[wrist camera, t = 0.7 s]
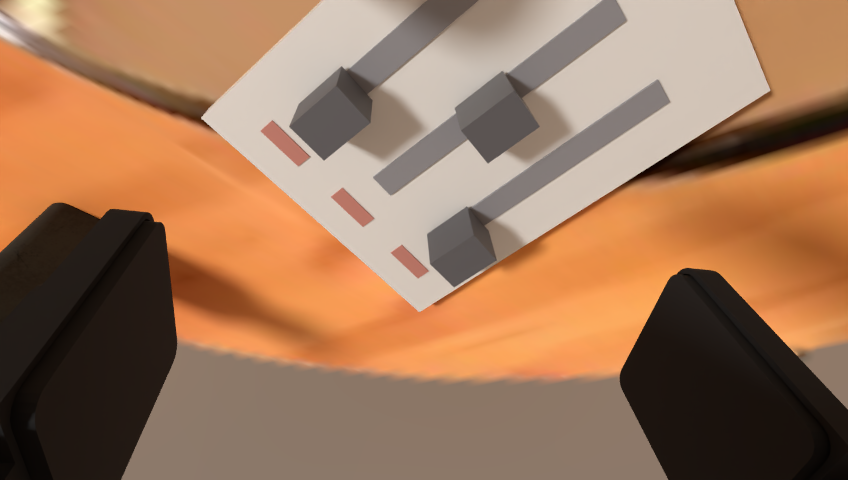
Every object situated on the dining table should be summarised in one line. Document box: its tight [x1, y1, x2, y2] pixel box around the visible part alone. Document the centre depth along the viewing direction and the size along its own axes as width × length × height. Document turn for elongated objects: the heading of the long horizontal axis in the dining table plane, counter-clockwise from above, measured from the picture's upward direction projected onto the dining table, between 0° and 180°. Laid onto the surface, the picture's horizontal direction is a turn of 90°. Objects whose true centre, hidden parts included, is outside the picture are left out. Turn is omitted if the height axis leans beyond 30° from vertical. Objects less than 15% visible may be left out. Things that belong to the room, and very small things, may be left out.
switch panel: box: [201, 0, 770, 312], centre depth 35 cm, size 32×24×6 cm
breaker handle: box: [455, 71, 540, 163], centre depth 34 cm, size 4×3×4 cm
